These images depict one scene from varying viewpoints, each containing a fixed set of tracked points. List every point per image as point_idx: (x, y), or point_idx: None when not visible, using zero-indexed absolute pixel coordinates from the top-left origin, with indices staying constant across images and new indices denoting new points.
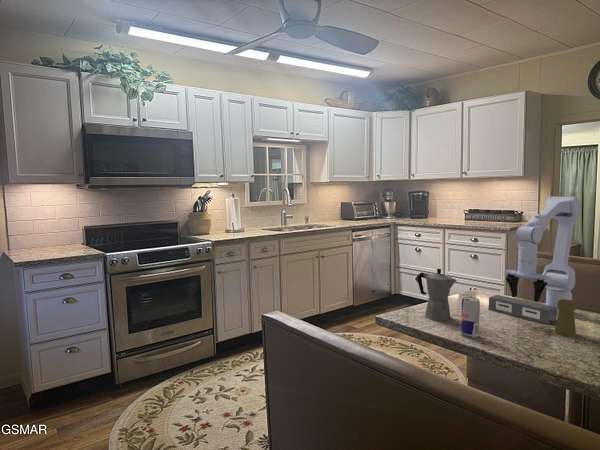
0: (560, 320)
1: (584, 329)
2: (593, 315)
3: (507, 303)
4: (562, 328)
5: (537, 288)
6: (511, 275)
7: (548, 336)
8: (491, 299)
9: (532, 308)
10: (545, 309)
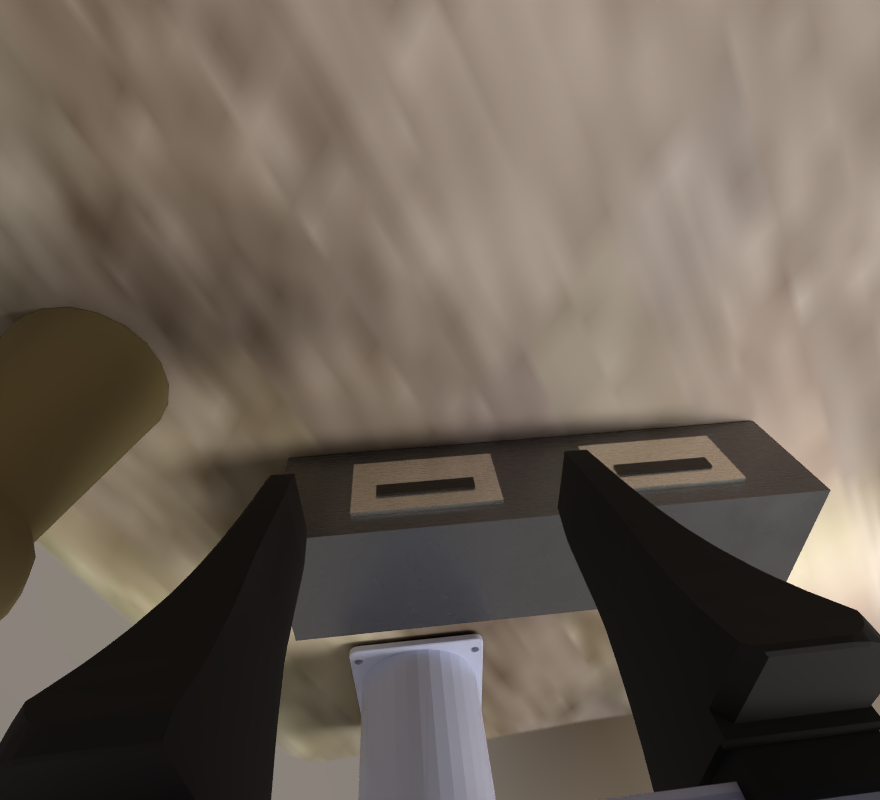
0: (5, 381)
1: (111, 546)
2: (282, 744)
3: (642, 491)
4: (17, 339)
5: (155, 628)
6: (818, 783)
7: (51, 164)
8: (793, 480)
9: (419, 515)
10: (306, 541)
